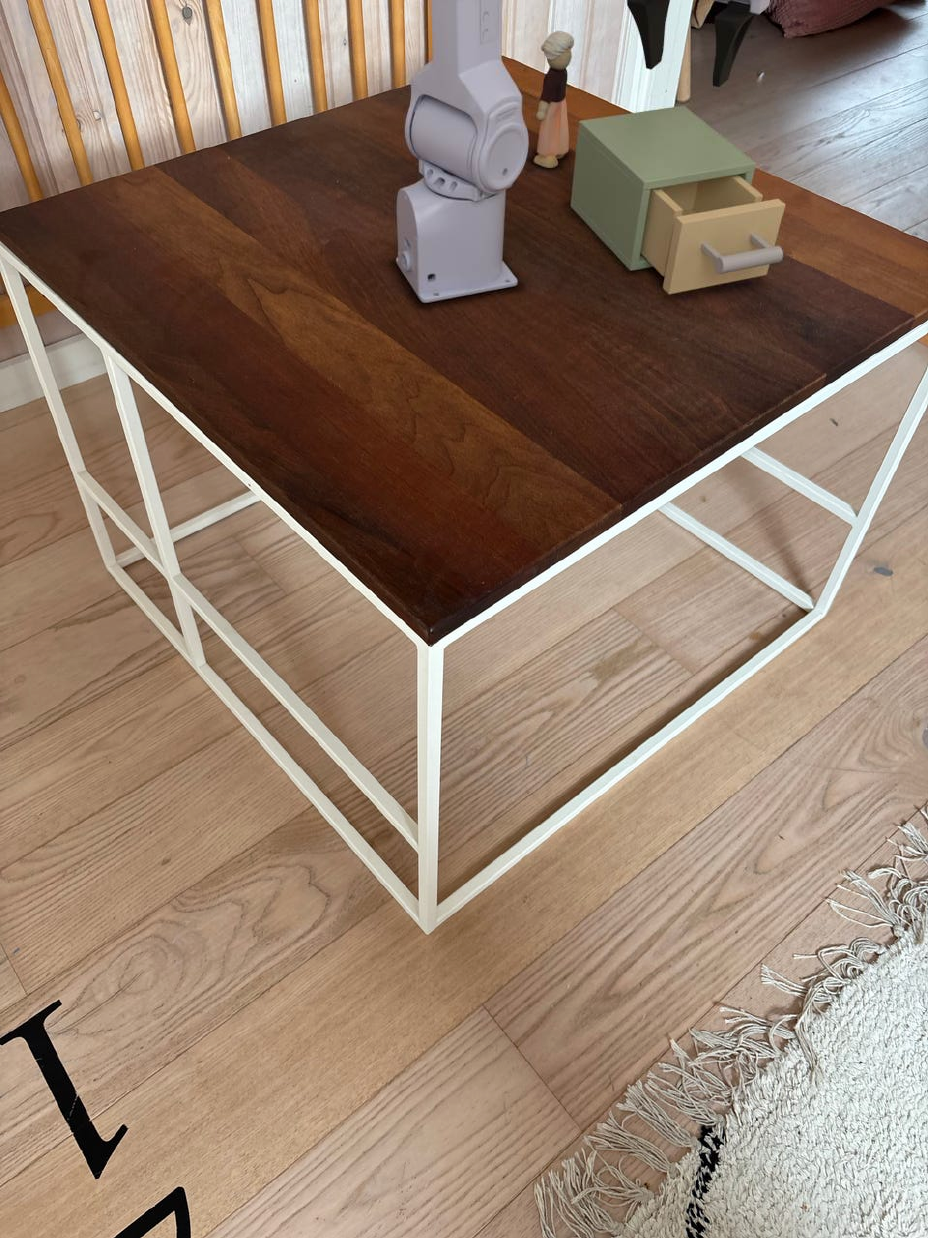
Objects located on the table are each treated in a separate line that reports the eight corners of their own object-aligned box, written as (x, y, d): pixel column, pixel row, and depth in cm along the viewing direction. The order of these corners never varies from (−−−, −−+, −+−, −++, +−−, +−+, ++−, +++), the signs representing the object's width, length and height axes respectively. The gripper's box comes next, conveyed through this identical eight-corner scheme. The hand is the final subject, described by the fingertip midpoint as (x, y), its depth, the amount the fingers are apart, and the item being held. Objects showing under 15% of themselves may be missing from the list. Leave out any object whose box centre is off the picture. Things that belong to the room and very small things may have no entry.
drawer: (791, 297, 90) (812, 225, 85) (691, 318, 88) (706, 245, 83) (699, 213, 100) (714, 145, 95) (607, 230, 98) (617, 160, 93)
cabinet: (735, 250, 97) (756, 163, 91) (630, 271, 95) (644, 181, 88) (668, 189, 106) (683, 104, 99) (570, 206, 103) (578, 120, 96)
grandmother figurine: (563, 173, 108) (574, 46, 98) (528, 170, 108) (536, 42, 99) (572, 143, 113) (584, 19, 103) (538, 140, 113) (547, 16, 104)
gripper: (797, -86, 88) (770, 72, 99) (654, -111, 94) (644, 40, 105) (759, -55, 85) (737, 104, 96) (615, -83, 91) (609, 69, 102)
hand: (686, 73), depth 100 cm, fingers open, 7 cm apart
